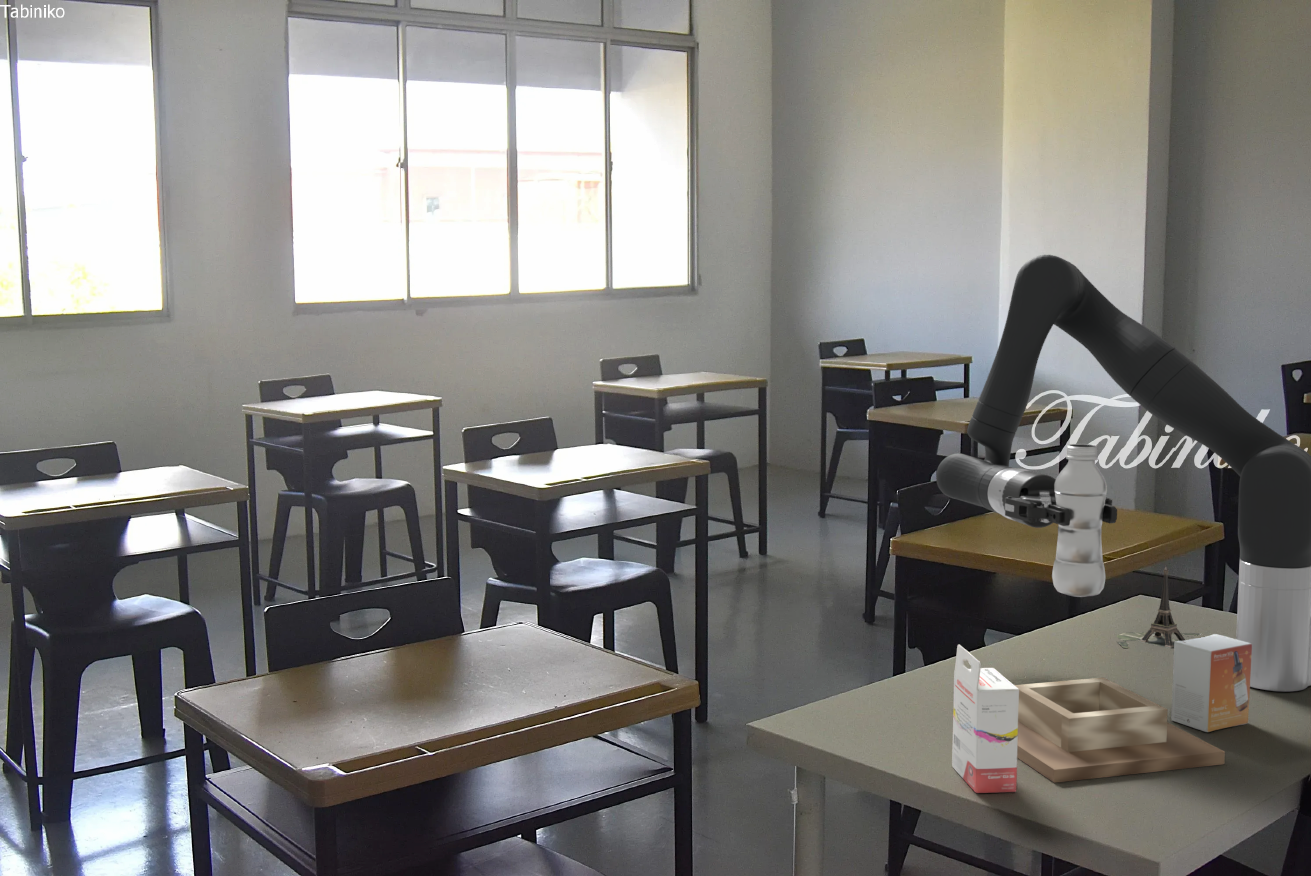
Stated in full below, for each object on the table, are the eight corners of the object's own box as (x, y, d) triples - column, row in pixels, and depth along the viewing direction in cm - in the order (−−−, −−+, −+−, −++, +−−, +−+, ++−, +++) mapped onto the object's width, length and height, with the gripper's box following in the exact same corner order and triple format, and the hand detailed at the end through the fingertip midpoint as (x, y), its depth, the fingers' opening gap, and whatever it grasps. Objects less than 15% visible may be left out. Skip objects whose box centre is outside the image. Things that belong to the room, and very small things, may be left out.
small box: (1206, 734, 156) (1210, 651, 154) (1169, 720, 160) (1172, 640, 159) (1250, 723, 159) (1253, 642, 158) (1212, 711, 164) (1215, 632, 163)
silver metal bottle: (1108, 602, 162) (1113, 449, 160) (1053, 600, 164) (1057, 448, 161) (1101, 590, 168) (1106, 443, 166) (1048, 588, 170) (1053, 442, 167)
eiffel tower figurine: (1202, 636, 202) (1205, 555, 201) (1224, 654, 192) (1227, 568, 191) (1106, 634, 203) (1108, 553, 202) (1123, 652, 193) (1125, 567, 192)
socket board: (1112, 705, 167) (1113, 664, 166) (1224, 764, 145) (1226, 717, 145) (961, 719, 161) (961, 677, 161) (1054, 782, 140) (1055, 734, 140)
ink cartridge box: (1019, 793, 137) (1022, 662, 136) (975, 794, 137) (977, 663, 135) (992, 764, 146) (994, 640, 144) (950, 766, 146) (952, 642, 144)
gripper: (979, 472, 176) (1041, 490, 160) (1071, 468, 180) (1141, 485, 163) (978, 525, 177) (1039, 548, 161) (1069, 520, 181) (1139, 542, 164)
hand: (1090, 516), depth 162 cm, fingers closed on silver metal bottle, 6 cm apart
